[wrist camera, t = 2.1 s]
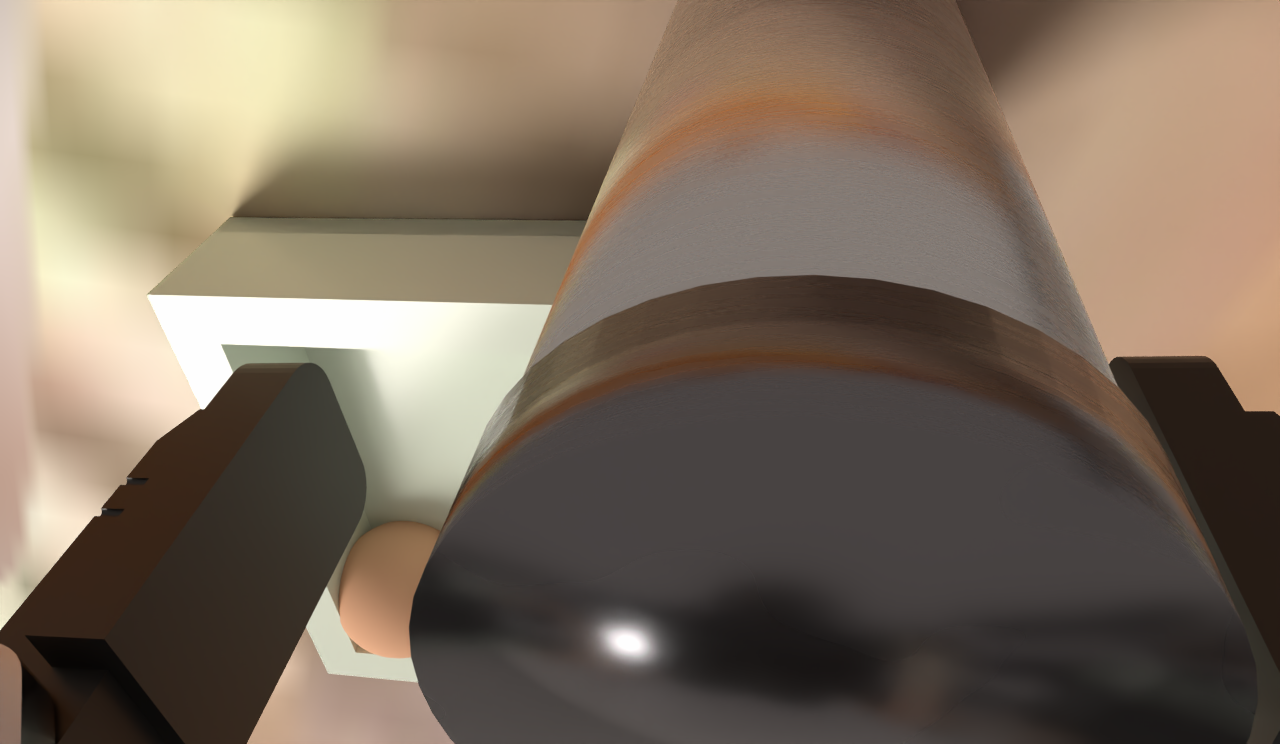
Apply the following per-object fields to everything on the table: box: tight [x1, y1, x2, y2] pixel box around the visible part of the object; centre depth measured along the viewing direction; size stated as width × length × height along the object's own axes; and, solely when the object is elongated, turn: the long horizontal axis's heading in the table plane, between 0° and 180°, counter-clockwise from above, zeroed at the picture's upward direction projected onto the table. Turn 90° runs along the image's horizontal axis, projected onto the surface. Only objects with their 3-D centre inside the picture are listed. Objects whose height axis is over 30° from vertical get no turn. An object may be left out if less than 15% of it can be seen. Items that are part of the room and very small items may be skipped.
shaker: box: [409, 0, 1258, 744], centre depth 10 cm, size 5×5×11 cm
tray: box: [147, 217, 587, 682], centre depth 19 cm, size 11×11×3 cm
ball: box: [339, 521, 441, 658], centre depth 21 cm, size 3×3×3 cm
